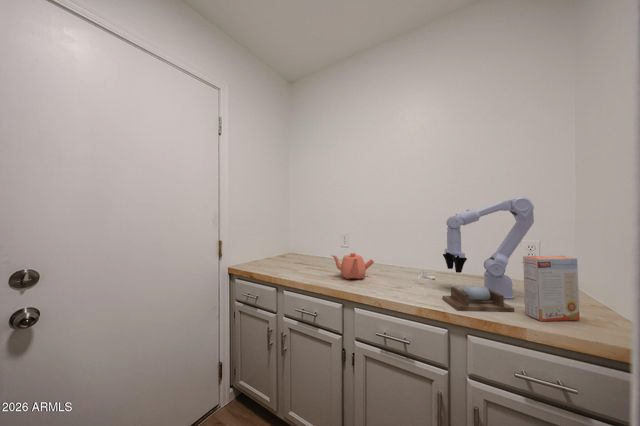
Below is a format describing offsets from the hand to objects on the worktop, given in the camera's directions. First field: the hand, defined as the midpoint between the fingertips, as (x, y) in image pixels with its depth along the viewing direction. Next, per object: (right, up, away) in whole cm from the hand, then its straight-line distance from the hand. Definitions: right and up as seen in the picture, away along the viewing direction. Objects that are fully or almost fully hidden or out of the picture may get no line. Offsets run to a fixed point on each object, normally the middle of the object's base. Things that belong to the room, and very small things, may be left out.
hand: (454, 270), depth 108 cm
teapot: (-45, -10, +24) cm, 51 cm away
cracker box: (+16, -9, -29) cm, 35 cm away
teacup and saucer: (-4, -11, +20) cm, 23 cm away
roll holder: (-2, -9, -18) cm, 20 cm away
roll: (-2, -7, -18) cm, 19 cm away
